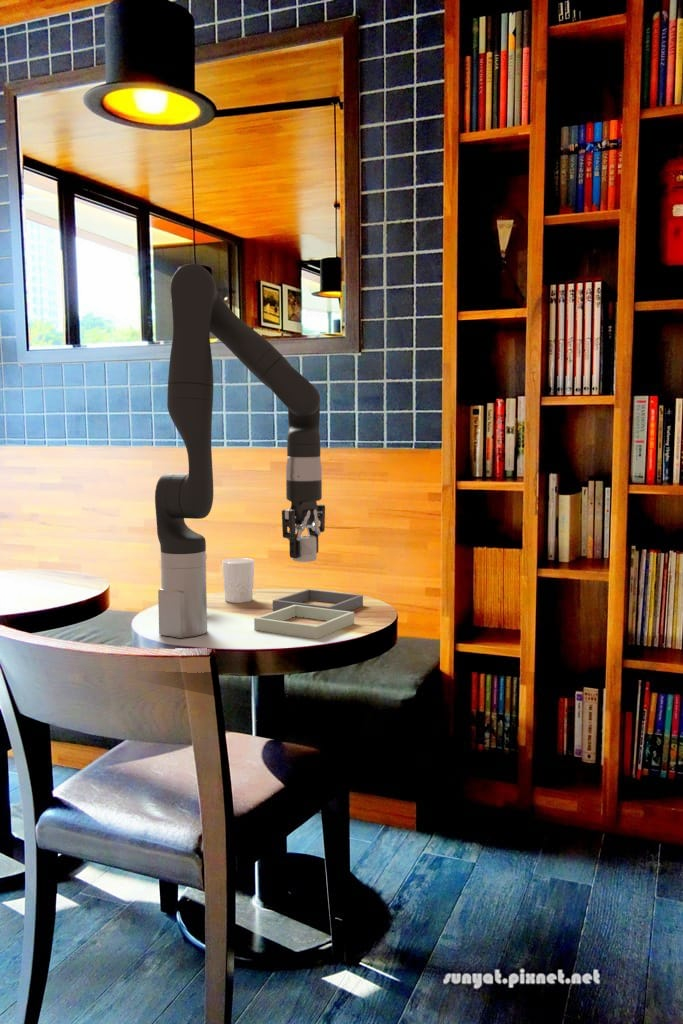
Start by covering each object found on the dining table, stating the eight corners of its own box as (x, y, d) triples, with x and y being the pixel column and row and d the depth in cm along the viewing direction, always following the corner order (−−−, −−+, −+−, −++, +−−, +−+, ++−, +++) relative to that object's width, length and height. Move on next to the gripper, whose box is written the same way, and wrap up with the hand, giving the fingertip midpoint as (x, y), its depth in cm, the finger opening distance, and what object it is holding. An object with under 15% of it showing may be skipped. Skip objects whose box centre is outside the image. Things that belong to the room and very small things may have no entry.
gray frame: (330, 618, 185) (330, 607, 184) (272, 610, 192) (272, 600, 192) (362, 605, 198) (362, 595, 198) (308, 599, 206) (308, 589, 206)
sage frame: (317, 639, 166) (317, 626, 166) (254, 629, 174) (254, 618, 174) (354, 623, 180) (354, 612, 180) (294, 615, 188) (294, 604, 187)
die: (316, 561, 174) (316, 538, 173) (292, 562, 173) (292, 538, 173) (315, 557, 179) (315, 535, 178) (292, 558, 178) (292, 535, 178)
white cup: (256, 597, 208) (256, 558, 207) (252, 603, 200) (252, 563, 199) (225, 597, 208) (225, 558, 207) (220, 603, 200) (219, 563, 200)
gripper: (301, 480, 166) (301, 561, 168) (336, 476, 178) (336, 552, 180) (270, 479, 170) (270, 559, 171) (306, 475, 182) (307, 549, 184)
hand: (304, 555), depth 176 cm, fingers closed on die, 7 cm apart
